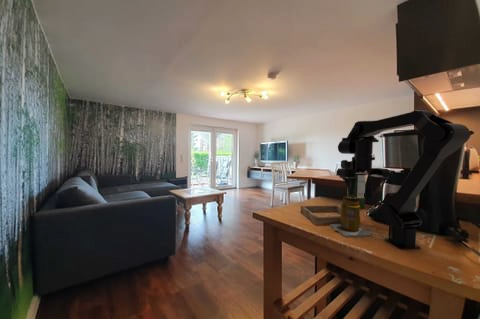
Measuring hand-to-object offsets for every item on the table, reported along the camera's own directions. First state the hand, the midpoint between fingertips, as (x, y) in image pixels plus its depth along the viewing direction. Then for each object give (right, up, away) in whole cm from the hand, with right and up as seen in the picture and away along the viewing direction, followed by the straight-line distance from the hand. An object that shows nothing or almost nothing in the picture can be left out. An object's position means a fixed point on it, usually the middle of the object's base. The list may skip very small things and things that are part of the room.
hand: (361, 194), depth 77 cm
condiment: (-7, -12, -4) cm, 15 cm away
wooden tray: (-9, -12, +10) cm, 18 cm away
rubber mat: (-7, -13, -4) cm, 15 cm away
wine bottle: (+13, -11, +27) cm, 32 cm away
